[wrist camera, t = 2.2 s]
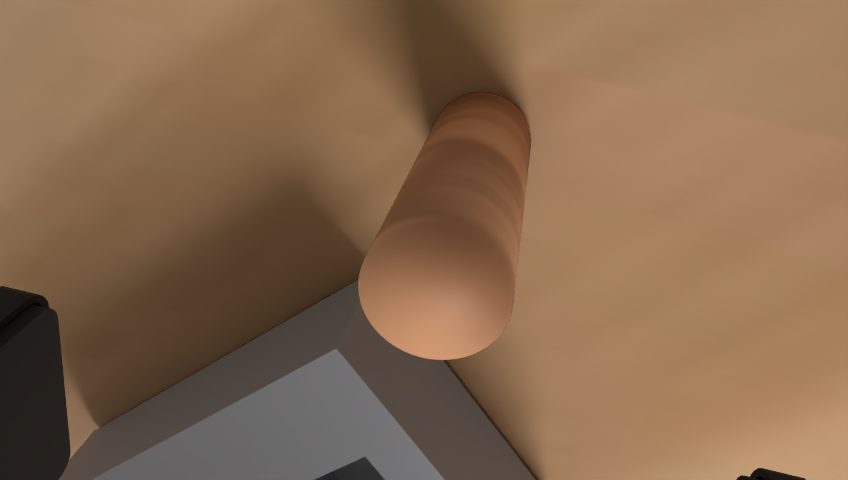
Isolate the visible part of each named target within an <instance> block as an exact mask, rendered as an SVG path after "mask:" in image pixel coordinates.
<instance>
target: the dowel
mask: <svg viewBox="0 0 848 480" xmlns="http://www.w3.org/2000/svg"><path fill="white" fill-rule="evenodd" d="M530 148H531V134H530V129H529V126H528V123H527V121H526V119H525V117H524V115H523V114H522V113H521V111H520V110H519V109H518V108H517V107H516V106H515V105H514V104H513V103H511V102H510V101H509V100H507V99H505V98H503V97H501V96H499V95H495V94H492V93H485V92H477V93H470V94H466V95H463V96H461V97H459V98H457V99H455V100H453V101H452V102H451V103H449V104H448V105H447V106H446V107H445V108H444V109H443V111H442V112H441V113H440V115H439V117H438V118H437V120H436V122H435V124H434V126H433V128H432V130H431V132H430V134H429V136H428V138H427V139H426V141H425V143H424V145H423V147H422V149H421V151H420V153H419V155H418V157H417V159H416V161H415V163H414V165H413V166H412V168H411V170H410V172H409V174H408V176H407V178H406V180H405V182H404V184H403V186H402V188H401V190H400V192H399V193H398V195H397V197H396V199H395V201H394V203H393V205H392V207H391V209H390V211H389V213H388V215H387V217H386V219H385V220H384V222H383V224H382V226H381V228H380V230H379V232H378V234H377V236H376V238H375V240H374V242H373V244H372V246H371V247H370V249H369V251H368V253H367V255H366V257H365V259H364V261H363V264H362V266H361V269H360V274H359V280H358V291H359V298H360V302H361V305H362V308H363V311H364V313H365V315H366V317H367V319H368V320H369V322H370V323H371V325H372V326H373V327H374V329H375V330H376V331H377V332H378V333H379V334H380V335H381V336H382V337H383V338H384V339H386V340H387V341H388V342H389V343H391V344H392V345H394V346H395V347H397V348H399V349H401V350H402V351H405V352H407V353H409V354H412V355H415V356H418V357H422V358H427V359H434V360H452V359H458V358H463V357H466V356H470V355H472V354H475V353H477V352H479V351H481V350H483V349H484V348H486V347H487V346H489V345H490V344H491V343H493V342H494V341H495V340H496V339H497V338H498V337H499V336H500V334H501V333H502V332H503V330H504V329H505V327H506V325H507V323H508V321H509V319H510V316H511V313H512V308H513V302H514V293H515V283H516V274H517V265H518V256H519V247H520V238H521V229H522V220H523V211H524V202H525V193H526V184H527V175H528V166H529V157H530Z"/></svg>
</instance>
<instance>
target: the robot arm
mask: <svg viewBox="0 0 848 480" xmlns="http://www.w3.org/2000/svg"><path fill="white" fill-rule="evenodd" d="M69 457H70V440H69V429H68V419H67V408H66V398H65V387H64V377H63V366H62V356H61V345H60V335H59V324H58V317H57V313H56V312H55V310H53V309H50V308H49V305H48V301H47V300H46V299H45V297H43V296H41V295H38V294H33V293H29V292H25V291H21V290H17V289H13V288H8V287H4V286H2V287H0V480H59V478H60V477H61V476H62V474H63V473H64V471H65V469H66V467H67V464H68V461H69ZM737 480H806V479H805V478H801V477H796V476H792V475H788V474H784V473H780V472H776V471H771V470H767V469H763V468H758V469H756V470H755V471H753V473H752V474H751V476H750V477H747V476H740V477H738V478H737Z"/></svg>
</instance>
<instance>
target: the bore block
mask: <svg viewBox="0 0 848 480" xmlns="http://www.w3.org/2000/svg"><path fill="white" fill-rule="evenodd" d="M358 280H359V279H358ZM358 280H357V281H355V282H353V283H351V284H350V285H348V286H346V287H344V288H343V289H341V290H339V291H337V292H336V293H334V294H332V295H330V296H329V297H327V298H325V299H323V300H322V301H320V302H318V303H317V304H315V305H313V306H311V307H310V308H308V309H306V310H304V311H303V312H301V313H299V314H297V315H296V316H294V317H292V318H290V319H289V320H287V321H285V322H283V323H282V324H280V325H278V326H276V327H275V328H273V329H271V330H269V331H268V332H266V333H264V334H262V335H261V336H259V337H257V338H255V339H254V340H252V341H250V342H249V343H247V344H245V345H243V346H242V347H240V348H238V349H236V350H235V351H233V352H231V353H229V354H228V355H226V356H224V357H222V358H221V359H219V360H217V361H215V362H214V363H212V364H210V365H208V366H207V367H205V368H203V369H201V370H200V371H198V372H196V373H194V374H193V375H191V376H189V377H188V378H186V379H184V380H182V381H181V382H179V383H177V384H175V385H174V386H172V387H170V388H168V389H167V390H165V391H163V392H161V393H160V394H158V395H156V396H154V397H153V398H151V399H149V400H147V401H146V402H144V403H142V404H140V405H139V406H137V407H135V408H133V409H132V410H130V411H128V412H126V413H125V414H123V415H121V416H120V417H118V418H116V419H114V420H113V421H111V422H109V423H107V424H106V425H104V426H102V427H100V428H99V429H97V430H95V431H94V432H93V433H92V434H91V435H90V436H89V438H88V439H87V440H86V441H85V442H84V444H83V445H82V446H81V447H80V448H79V449H78V451H77V452H76V453H75V454H74V455H73V456H72V458H71V459H70V460H69V461H68V464H67V467H66V469H65V471H64V473H63V474H62V476H61V477H60V478H59V480H536V479H535V478H534V477H533V476H532V474H531V473H530V472H529V470H528V469H527V468H526V467H525V465H524V464H523V463H522V461H521V460H520V459H519V457H518V456H517V455H516V454H515V452H514V451H513V450H512V448H511V447H510V446H509V445H508V443H507V442H506V441H505V439H504V438H503V437H502V436H501V434H500V433H499V432H498V430H497V429H496V428H495V426H494V425H493V424H492V423H491V421H490V420H489V419H488V417H487V416H486V415H485V414H484V412H483V411H482V410H481V408H480V407H479V406H478V405H477V403H476V402H475V401H474V399H473V398H472V397H471V395H470V394H469V393H468V392H467V390H466V389H465V388H464V386H463V385H462V384H461V383H460V381H459V380H458V379H457V377H456V376H455V375H454V374H453V372H452V371H451V370H450V368H449V367H448V366H447V364H446V363H445V362H444V361H443V360H434V359H427V358H422V357H418V356H415V355H412V354H409V353H407V352H405V351H402V350H401V349H399V348H397V347H395V346H394V345H392V344H391V343H389V342H388V341H387V340H386V339H384V338H383V337H382V336H381V335H380V334H379V333H378V332H377V331H376V330H375V329H374V327H373V326H372V325H371V323H370V322H369V320H368V319H367V317H366V315H365V313H364V311H363V308H362V305H361V302H360V298H359V291H358Z"/></svg>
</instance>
